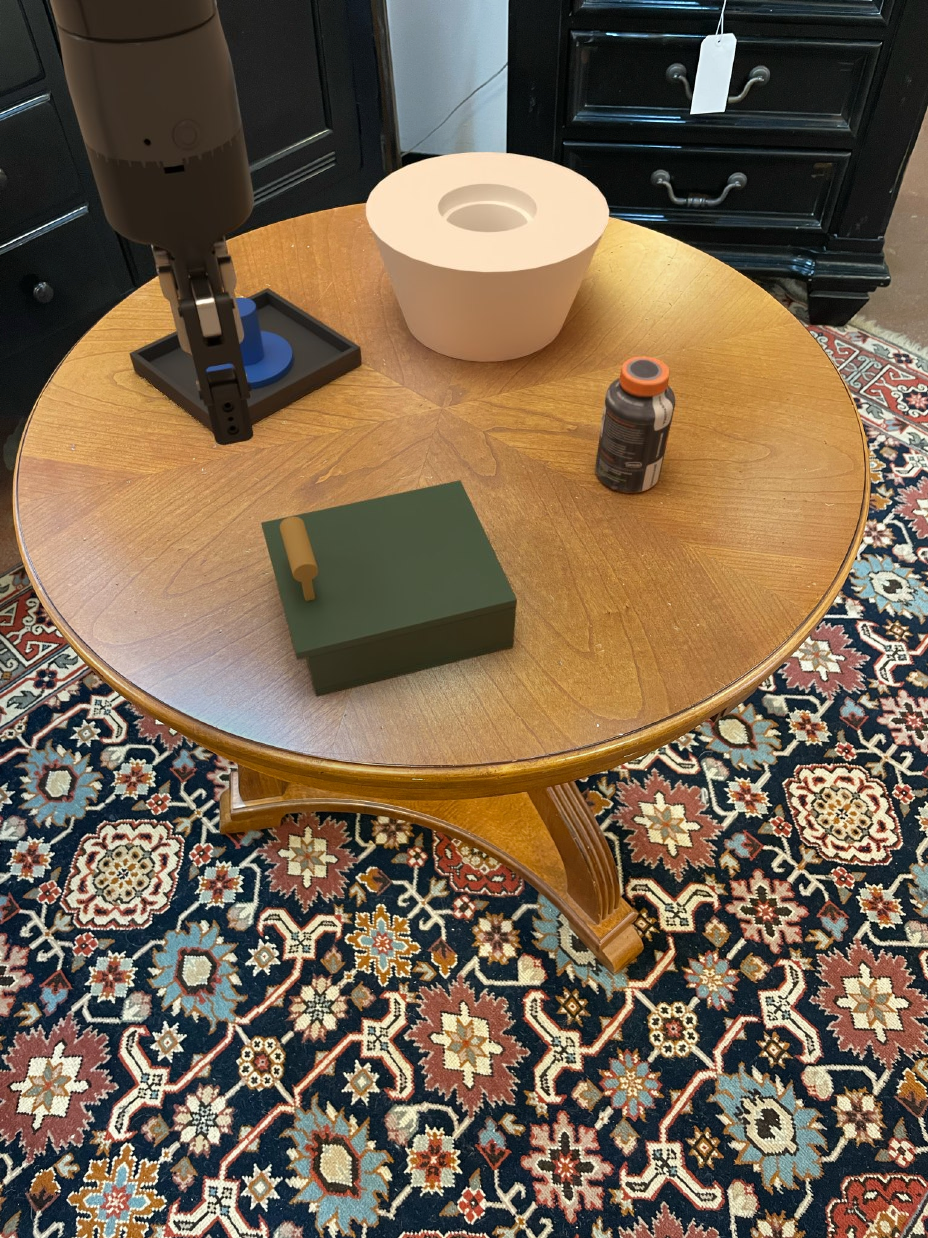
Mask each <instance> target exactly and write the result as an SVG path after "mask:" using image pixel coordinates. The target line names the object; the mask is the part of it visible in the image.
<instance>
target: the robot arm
mask: <svg viewBox="0 0 928 1238" xmlns="http://www.w3.org/2000/svg"><path fill="white" fill-rule="evenodd" d="M49 3H50V6H51V8H52V13H53V17H54V20H55V24H56V29H57V33H58V38H59V44H60V50H61V57H62V64H63V70H64V74H65V79H66V83H67V86H68V91H69V94H70V97H71V98H70V99H71V100H72V104H73V107H74V111H75V115H76V118H77V122H78V125H79V129H80V132H81V136H82V139H83V142H84V147H85V150H86V153H87V157H88V160H89V164H90V166H91V170H92V174H93V178H94V181H95V185H96V188H97V191H98V195H99V198H100V201H101V205H102V209H103V212H104V216H105V218H106V220H107V222H108V224H109V225H110V227H111V228H112V229H113V230H114V231H115V232H117V234H119V235H120V236H122V237H124V238H125V239H127V240H129V241H132V242H135V243H137V244H140V245H145V246H148V245H150V246H151V250H152V253H153V259H154V262H155V269H156V273H157V278H158V281H159V286H160V289H161V292H162V295H163V297H164V299H166V300H167V301H168V302H169V306H170V309H171V315H172V317H173V321H174V322H173V323H174V325H175V331H177V334H178V338H179V342H180V346H181V348H182V349H183V350H184V351H185V352H187V353H190V354H191V355H192V356H193V360H194V364H195V368H196V372H197V376H198V381H196V383H197V388H198V390H199V391H198V393H199V397H200V400H203V401H204V405H205V406H207V409H208V413H209V417H210V421H211V425H212V429H213V432H212V434H213V437H214V441H215V443H217V445H220V446H227V445H233V444H239V443H243V442H244V443H245V442H247V441H250V440H252V438H253V437H254V429H253V424H251V419H250V414H249V409H248V404H247V399H249V398H250V393H249V391H252V390H251V385H250V382H247V381H248V379H247V375H246V372H245V368H244V363H243V358H242V353H241V349H240V343H241V342H242V341H243V338H244V331H243V327H242V322H241V318H240V313H239V309H238V305H237V300H236V298H237V296H236V292H235V289H236V287H237V282H238V281H237V275H236V271H235V266H234V262H233V258H232V254H231V253H229V251H228V245H227V240H226V235H228V234H230V233H233V232H234V231H236V230H238V229H239V228H240V227H241V226H242V225H243V224H245V223H246V221H247V220H248V219H249V217H250V216H251V214H252V212H253V210H254V205H255V195H254V189H253V183H252V177H251V170H250V163H249V157H248V152H247V146H246V145H247V144H246V140H245V133H244V127H243V122H242V116H241V110H240V103H239V98H238V97H239V96H238V90H237V85H236V79H235V72H234V66H233V62H232V57H231V54H230V51H229V46H228V43H227V39H226V37H225V33H224V30H223V27H222V23H221V19H220V13H219V9H218V6H217V5H218V4H217V0H49ZM223 364H232V366H233V368H227V369H221V370H215V371H210V372H206V370H207V368H209V367H212V366H218V365H223ZM206 373H207V374H206ZM200 389H201V391H200Z"/></svg>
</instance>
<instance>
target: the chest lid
mask: <svg viewBox="0 0 928 1238" xmlns="http://www.w3.org/2000/svg"><path fill="white" fill-rule="evenodd" d="M469 497H470V496H469V495H468V492H467V491H466V489H465V487H464V485H463V483H462V481H461V479H460V480H454V481H450V482H445V483H440V484H436V485H430V486H425V487H422V488H417V489H411V490H407V491H403V492H398V493H393V494H389V495H384V496H379V497H375V498H370V499H365V500H361V501H356V502H352V503H348V504H342V505H337V506H333V507H332V506H331V507H328V508H323V509H319V510H318V509H317V510H314V511H313V510H312V511H309V512H308V511H307V512H304V513H299V514H295V515H290V516H286V517H281V518H277V519H271V520H267V521H262V522H261V523H260V524H261V529H262V533H263V536H264V541H265V544H266V548H267V552H268V555H269V559H270V564H271V567H272V570H273V575H274V579H275V583H276V585H277V589H278V593H279V598H280V600H281V604H282V605H281V606H282V609H283V612H284V616H285V619H286V623H287V628H288V631H289V636H290V638H291V643H292V647H293V650H294V654H295V657H296V660H302V659H305V658H307V657H311V656H315V655H319V654H323V653H328V652H332V651H336V650H340V649H344V648H348V647H352V646H356V645H360V644H364V643H368V642H373V641H377V640H381V639H385V638H389V637H393V636H397V635H401V634H405V633H409V632H414V631H418V630H422V629H426V628H430V627H434V626H438V625H442V624H446V623H450V622H455V621H459V620H463V619H467V618H471V617H475V616H479V615H483V614H487V613H491V612H496V611H500V610H504V609H508V608H512V607H516V608H517V604H518V599H517V597H516V595H515V592H514V590H513V588H512V586H511V583H510V582H509V580H508V577H507V575H506V573H505V571H504V569H503V567H502V565H501V563H500V560H499V559H498V556H497V554H496V552H495V550H494V548H493V546H492V543H491V541H490V539H489V537H488V536H487V533H486V531H485V529H484V526H483V525H482V522H481V520H480V518H479V515H478V514H477V511H476V510H475V508H474V506H473V504H472V501H471V499H470V498H469Z"/></svg>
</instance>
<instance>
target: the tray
mask: <svg viewBox="0 0 928 1238" xmlns="http://www.w3.org/2000/svg"><path fill="white" fill-rule="evenodd" d="M246 298H248V299H250V300H252V301H253V302H254V303H255V304H256V309H257V315H258V321H259V326H260V331H266V332H270V333H274V334H276V335H279V336H280V337H282V338H284V339H285V340H286V341H287V342H288V343H289V344H290V346H291V348H292V353H293V364H292V367H291V369H290V370H289V372H288V373H287V374H286V375H285V376H284V377H282V378H281V379H279V380H278V381H276V382H274V383H272V384H269V385H267V386H263V387H259V388H254V389H251V390H252V391H249V393H250V398H249V399H247V404H248V409H249V414H250V419H251V424H252V425H254V424H256V423H258V422H259V421H261V420H264V419H265V418H268V417H269V416H271V415H272V414H274V413H275V412H278V411H279V410H281V409H284V408H285V407H287V406H288V405H291V404H292V403H295V401H298V400H300V399H302V398H303V397H305V396H307V395H309V394H311V393H312V392H315V391H316V390H318V389H320V388H321V387H324V386H325V385H327V384H329V383H331V382H332V381H334V380H336V379H338V378H340V377H342V376H343V375H345V374H347V373H349V372H351V371H352V370H354V369H356V368H358V367H360V366H362V364H363V363H362V351H361V350H362V349H361V346H359V345H358V344H356V343H355V342H354V341H352V340H351V339H349V338H347V337H346V336H344V335H342V334H341V333H339V332H338V331H336V330H335V329H333V328H331V327H330V326H328V325H327V324H326V323H324V322H322V321H320V320H319V319H317V318H316V317H315V316H313V315H311V314H309V312H306V311H305V310H303V309H302V308H300V307H299V306H297V305H296V304H294V303H292V302H291V301H289V300H288V299H286V298H285V297H282V296H281V295H280V294H278V293H277V292H275V291H273V290H272V289H270V288H269V287H267V288H264V289H263V290H260V291H258V292H256V293H254V294H251V295H250V296H247V297H246ZM128 355H129V358H130V360H131V364H132V367H133V371H134V372H135V373H137V375H138V376H140V377H142V378H143V379H144V380H146V381H147V382H148V383H149V384H150V385H152V386H153V387H155V388H156V389H157V390H158V391H160V392H161V393H162V394H163V395H164V396H166V397H167V398H168V399H170V400H171V401H173V402H174V403H175V404H176V405H177V406H179V407H180V408H181V409H183V410H184V411H185V412H186V413H188V415H191V417H193V418H194V419H195V420H197V421H198V422H199V423H200V424H202V426H203V427H206V428H207V429H208V430H209V431H210V432H212V433H213V429H212V425H211V421H210V417H209V413H208V409H207V406H205V405H204V401H203V400H200V397H199V393H198V391H199V390H198V388H197V383H196V381H198V376H197V372H196V368H195V364H194V360H193V356H192V355H191V354H190V353H187V352H185V351H184V350H183V349H182V348H181V346H180V342H179V338H178V334H177V330H175V331H173V332H171V333H169V334H167V335H165V336H163V337H161V338H158V339H156V340H155V341H152V342H150V343H148V344H146V345H143V346H141V347H140V348H137V349H135V350H132V351H131V352H129V353H128ZM200 391H201V389H200Z"/></svg>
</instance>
